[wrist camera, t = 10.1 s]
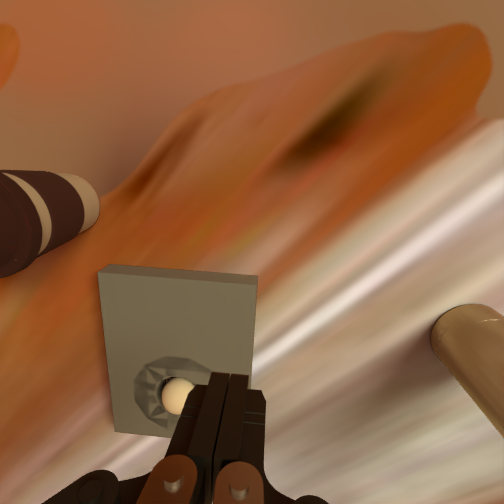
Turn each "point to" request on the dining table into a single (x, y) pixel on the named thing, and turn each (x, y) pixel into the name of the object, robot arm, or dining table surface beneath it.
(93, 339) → the dining table surface
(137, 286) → the grey flat block
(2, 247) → the coffee cup
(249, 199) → the dining table surface
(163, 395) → the ball
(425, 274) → the dining table surface
